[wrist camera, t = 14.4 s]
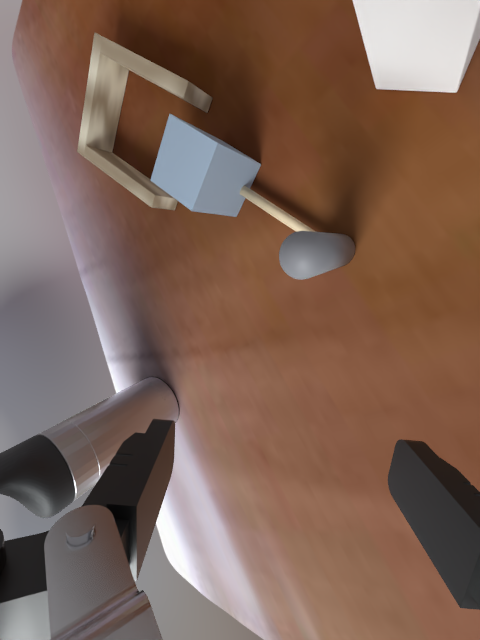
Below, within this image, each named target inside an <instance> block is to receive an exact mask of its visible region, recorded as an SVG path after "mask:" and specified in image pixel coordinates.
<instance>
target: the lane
mask: <svg viewBox="0 0 480 640" xmlns="http://www.w3.org/2000/svg"><path fill="white" fill-rule="evenodd" d="M129 70H130V71H132V72H134V73H136V74H137V75H139V76H141V77H143V78H145V79H146V80H148V81H150V82H152V83H154V84H155V85H157V86H159V87H161V88H163V89H165V90H166V91H168V92H170V93H172V94H174V95H175V96H177V97H179V98H181V99H183V100H185V101H186V102H188V103H190V104H192V105H194V106H195V107H197V108H199V109H201V110H203V111H204V112H206V113H208V110H209V107H210V104H211V101H212V97H211V96H209V95H208V94H206V93H205V92H203V91H202V90H201V89H199V88H198V87H196V86H195V85H193V84H192V83H190V82H189V81H187V80H185V79H183V78H182V77H180V76H178V75H176V74H174V73H172V72H170V71H168V70H166V69H164V68H162V67H160V66H158V65H156V64H155V63H153V62H151V61H149V60H147V59H145V58H143V57H141V56H139V55H137V54H135V53H133V52H131V51H129V50H128V49H126V48H124V47H122V46H120V45H118V44H116V43H114V42H112V41H110V40H108V39H106V38H104V37H103V36H101V35H99V34H97V33H94V40H93V47H92V54H91V61H90V68H89V75H88V81H87V88H86V95H85V102H84V109H83V116H82V123H81V129H80V136H79V143H78V150H77V152H78V153H79V154H81V155H82V156H83V157H85V158H86V159H87V160H89V161H90V162H91V163H93V164H94V165H95V166H97V167H98V168H99V169H101V170H102V171H103V172H105V173H106V174H107V175H109V176H110V177H111V178H113V179H114V180H115V181H117V182H118V183H119V184H121V185H122V186H124V187H125V188H126V189H128V190H129V191H130V192H132V193H133V194H134V195H136V196H137V197H138V198H140V199H141V200H142V201H144V202H145V203H146V204H148V205H149V206H150V207H152V208H160V209H169V210H175V208H176V205H177V202H178V201H177V200H176V199H175V198H173V197H172V196H171V195H169V194H168V193H167V192H165V191H164V190H163V189H161V188H160V187H158V186H157V185H156V184H154V183H153V182H152V181H150V179H149V178H148V177H146V176H145V175H143V174H142V173H141V172H139V171H138V170H136V169H135V168H133V167H132V166H131V165H129V164H128V163H126V162H125V161H124V160H122V159H121V158H119V157H118V156H116V155H115V154H114V153H112V151H113V147H114V142H115V137H116V132H117V127H118V122H119V117H120V112H121V107H122V102H123V97H124V92H125V87H126V82H127V78H128V73H129Z"/></svg>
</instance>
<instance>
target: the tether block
mask: <svg viewBox="0 0 480 640" xmlns="http://www.w3.org/2000/svg"><path fill="white" fill-rule="evenodd" d="M260 166H261V164H260V163H258V162H257V161H255V160H253V159H252V158H250V157H248V156H247V155H245V154H243V153H242V152H240V151H238V150H237V149H235V148H233V147H232V146H230V145H229V144H227V143H225V142H224V141H222V140H220V139H218V138H216V137H214V136H212V135H210V134H209V133H207V132H205V131H203V130H201V129H199V128H197V127H195V126H193V125H191V124H189V123H187V122H185V121H183V120H181V119H179V118H177V117H175V116H173V115H172V114H169V118H168V121H167V125H166V128H165V132H164V135H163V139H162V142H161V145H160V149H159V152H158V156H157V159H156V163H155V166H154V170H153V173H152V176H151V180H150V181H152V182H153V183H154V184H156V185H157V186H158V187H160V188H161V189H163V190H164V191H165V192H167V193H168V194H169V195H171V196H172V197H173V198H175V199H176V200H177V201H179V202H180V203H182V204H183V205H184V206H186V207H187V208H188V209H190V210H191V211H195V212H203V213H211V214H218V215H226V216H234V217H237V215H238V213H239V211H240V209H241V207H242V204H243V202H244V200H245V198H246V199H248V200H249V201H251V202H252V203H254V204H255V205H257V206H258V207H260V208H261V209H263V210H264V211H266V212H267V213H269V214H270V215H272V216H273V217H275V218H276V219H278V220H279V221H281V222H282V223H284V224H285V225H287V226H288V227H290V228H292V229H293V230H295V231H296V232H294V233H292V234H291V235H289V236H288V237H287V238H286V239H285V240H284V242H283V243H282V245H281V248H280V252H279V260H280V264H281V267H282V268H283V270H284V271H285V272H286V274H288V275H289V276H291V277H293V278H295V279H307V278H310V277H313V276H316V275H319V274H322V273H325V272H327V271H330V270H333V269H336V268H339V267H341V266H344V265H346V264H348V263H349V262H350V261H351V260H352V258H353V256H354V254H355V244H354V242H353V240H352V239H351V238H350V237H349V236H347V235H345V234H337V233H324V232H316V231H314V230H313V229H311V228H309V227H308V226H306V225H305V224H303V223H302V222H300V221H299V220H297V219H296V218H294V217H293V216H291V215H289V214H288V213H286V212H285V211H283V210H282V209H280V208H279V207H277V206H276V205H274V204H273V203H271V202H269V201H268V200H266V199H265V198H263V197H262V196H260V195H259V194H257V193H256V192H254V191H252V190H251V189H250V187H251V185H252V183H253V181H254V179H255V177H256V175H257V172H258V170H259V168H260Z"/></svg>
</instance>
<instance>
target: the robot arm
mask: <svg viewBox="0 0 480 640" xmlns="http://www.w3.org/2000/svg"><path fill="white" fill-rule="evenodd" d="M178 416H179V408H178V403H177V400H176V398H175V396H174V394H173V392H172V390H171V389H170V388H169V387H168V385H167V384H165V383H164V382H163V381H162V380H160V379H158V378H155V377H149V378H146V379H144V380H142V381H140V382H138V383H136V384H134V385H132V386H130V387H128V388H126V389H124V390H122V391H120V392H118V393H117V394H115V395H113V396H111V397H109V398H107V399H105V400H103V401H101V402H99V403H97V404H95V405H93V406H91V407H89V408H87V409H85V410H84V411H82V412H80V413H78V414H76V415H74V416H72V417H70V418H68V419H66V420H64V421H62V422H60V423H59V424H57V425H55V426H53V427H51V428H49V429H47V430H45V431H43V432H41V433H39V434H37V435H36V436H33V437H32V438H30V439H28V440H26V441H24V442H22V443H20V444H18V445H16V446H14V447H12V448H10V449H8V450H6V451H4V452H2V453H0V494H3V495H6V496H10V497H12V498H14V499H16V500H17V501H19V502H20V503H21V504H23V505H24V506H25V507H26V508H28V510H30V511H31V512H32V513H34V514H35V515H37V516H39V517H42V518H50V517H52V516H54V515H56V514H57V513H59V512H60V511H62V510H63V509H64V508H65V507H67V506H68V505H69V504H70V503H72V502H73V501H74V500H76V499H77V498H78V497H80V496H81V495H82V494H84V493H85V492H86V491H88V490H89V489H90V488H91V487H93V486H94V485H95V484H96V485H95V487H94V488H93V490H92V491H91V493H90V495H89V496H88V498H87V499H86V501H85V502H84V504H83V505H82V507H79V508H77V509H74V510H72V511H70V512H68V513H67V514H65V515H64V516H63V517H61V518H60V519H59V520H58V521H57V522H56V523H55V524H54V525H53V526H52V527H51V529H50V530H49V531H46V532H44V533H40V534H36V535H31V536H26V537H22V538H17V539H12V540H8V541H4V536H3V532H2V531H1V529H0V640H162V637H161V634H160V631H159V628H158V625H157V622H156V619H155V616H154V614H153V611H152V608H151V605H150V602H149V600H148V597H147V596H146V594H145V592H144V591H143V590H142V591H140V592H139V591H138V589H137V587H136V585H135V581H137V578H138V575H139V572H140V569H141V566H142V563H143V560H144V557H145V554H146V551H147V548H148V545H149V542H150V539H151V535H152V533H153V529H154V526H155V523H156V520H157V517H158V514H159V511H160V508H161V505H162V502H163V499H164V496H165V493H166V490H167V487H168V484H169V481H170V477H171V474H172V469H173V463H174V443H175V423H176V421H177V420H178ZM388 485H389V490H390V493H391V495H392V497H393V499H394V500H395V502H396V503H397V505H398V507H399V508H400V510H401V512H402V513H403V515H404V517H405V518H406V520H407V521H408V523H409V525H410V526H411V528H412V530H413V531H414V533H415V535H416V536H417V538H418V539H419V541H420V543H421V544H422V546H423V548H424V549H425V551H426V553H427V554H428V556H429V557H430V559H431V561H432V562H433V564H434V566H435V567H436V569H437V571H438V572H439V574H440V575H441V577H442V579H443V580H444V582H445V584H446V585H447V587H448V589H449V590H450V592H451V594H452V595H453V597H454V598H455V600H456V602H457V603H458V605H459V607H460V608H467V609H480V492H479V491H478V490H477V489H476V488H475V487H474V486H473V485H471V484H470V482H469V481H468V480H467V479H466V478H465V477H464V476H463V475H462V474H461V473H460V472H459V471H458V470H457V469H456V468H454V467H453V466H451V465H450V464H449V463H447V462H446V461H444V460H443V459H441V458H439V457H438V456H437V455H436V454H435V453H434V452H433V451H432V450H431V449H430V448H429V446H428V445H427V444H426V443H424V442H422V441H412V440H398V441H397V443H396V445H395V449H394V454H393V458H392V462H391V466H390V470H389V474H388Z"/></svg>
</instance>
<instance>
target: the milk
mask: <svg viewBox="0 0 480 640" xmlns="http://www.w3.org/2000/svg"><path fill="white" fill-rule="evenodd" d="M353 3H354V7H355V11H356V15H357V19H358V22H359V26H360V30H361V34H362V38H363V41H364V45H365V49H366V53H367V57H368V60H369V64H370V68H371V72H372V76H373V79H374V83H375V87H376V89H386V90H408V91H430V92H452V93H455V92H457V91H458V89H459V86H460V84H461V82H462V79H463V77H464V75H465V72H466V70H467V67H468V65H469V63H470V60H471V58H472V56H473V53H474V51H475V49H476V46H477V44H478V42H479V39H480V0H353Z"/></svg>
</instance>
